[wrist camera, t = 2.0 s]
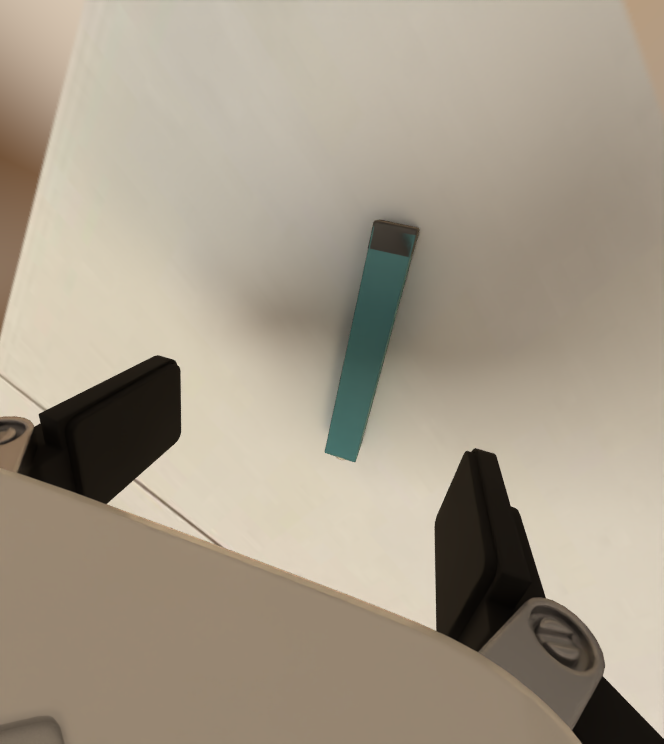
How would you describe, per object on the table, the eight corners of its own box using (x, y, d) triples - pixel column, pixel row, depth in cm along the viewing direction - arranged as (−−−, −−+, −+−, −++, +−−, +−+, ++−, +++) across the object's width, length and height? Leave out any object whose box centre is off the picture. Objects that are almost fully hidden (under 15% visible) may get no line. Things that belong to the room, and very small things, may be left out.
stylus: (380, 219, 16) (373, 219, 14) (420, 228, 16) (418, 229, 14) (330, 444, 22) (321, 462, 20) (359, 453, 21) (353, 472, 20)
